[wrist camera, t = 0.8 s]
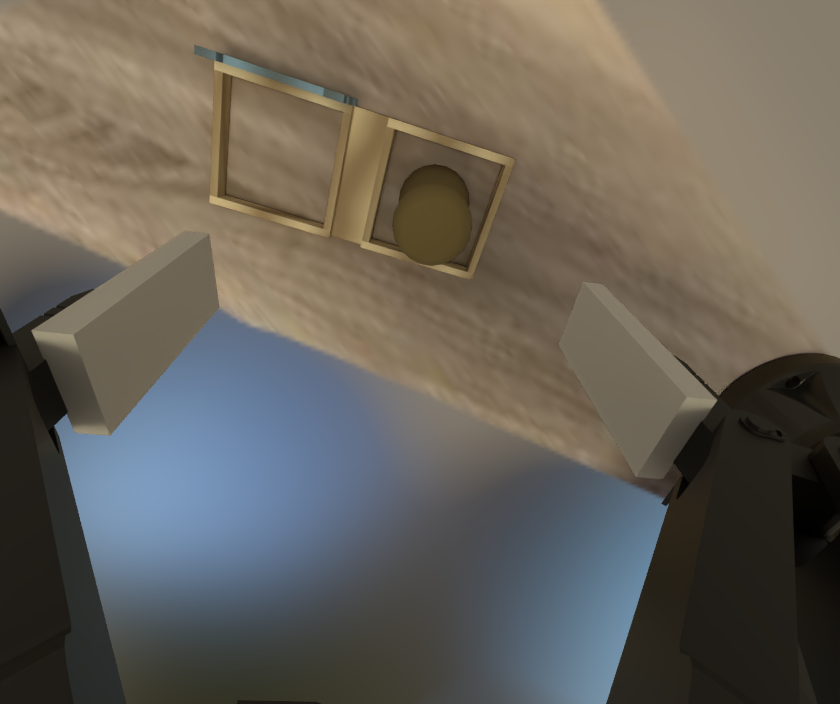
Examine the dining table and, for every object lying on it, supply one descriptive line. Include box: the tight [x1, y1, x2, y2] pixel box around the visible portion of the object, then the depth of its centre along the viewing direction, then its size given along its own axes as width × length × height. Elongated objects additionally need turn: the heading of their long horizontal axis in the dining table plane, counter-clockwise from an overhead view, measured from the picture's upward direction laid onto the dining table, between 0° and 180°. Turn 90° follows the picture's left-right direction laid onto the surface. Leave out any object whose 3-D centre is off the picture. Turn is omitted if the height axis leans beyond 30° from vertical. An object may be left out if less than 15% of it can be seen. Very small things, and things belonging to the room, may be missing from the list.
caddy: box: [194, 45, 516, 280], centre depth 32 cm, size 23×11×4 cm, turn 74°
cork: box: [392, 164, 472, 266], centre depth 30 cm, size 6×6×11 cm
